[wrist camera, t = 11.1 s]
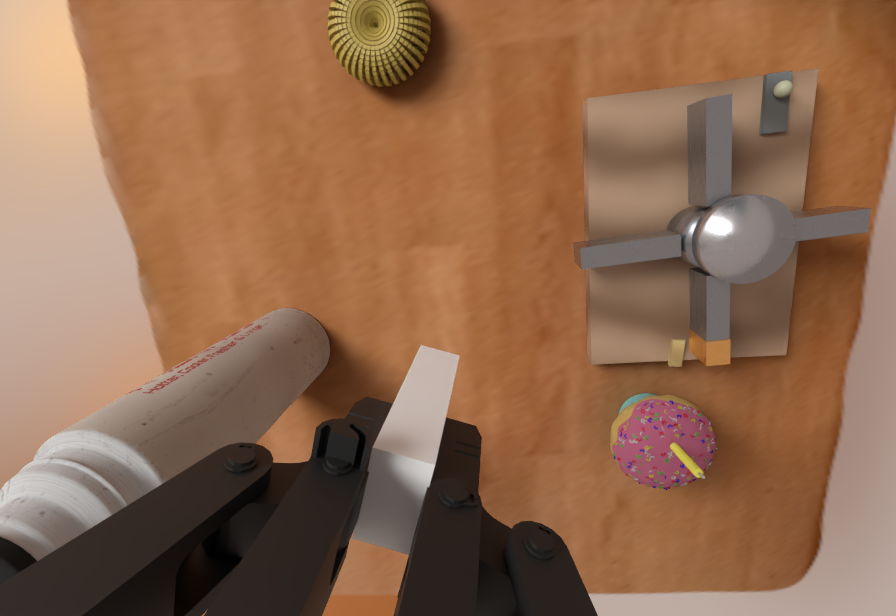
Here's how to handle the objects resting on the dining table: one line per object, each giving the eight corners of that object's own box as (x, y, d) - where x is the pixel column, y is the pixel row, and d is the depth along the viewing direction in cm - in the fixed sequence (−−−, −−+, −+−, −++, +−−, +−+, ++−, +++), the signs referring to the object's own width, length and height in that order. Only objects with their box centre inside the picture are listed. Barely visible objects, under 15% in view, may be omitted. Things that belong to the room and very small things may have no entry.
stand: (582, 102, 35) (591, 94, 32) (799, 75, 33) (835, 62, 29) (587, 360, 41) (595, 376, 38) (771, 351, 39) (798, 367, 35)
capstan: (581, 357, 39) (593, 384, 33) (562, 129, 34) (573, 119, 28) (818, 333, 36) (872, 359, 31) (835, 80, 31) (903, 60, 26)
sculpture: (312, 68, 33) (326, -57, 31) (332, 80, 37) (345, -30, 34) (414, 91, 33) (436, -33, 30) (423, 100, 36) (443, -9, 34)
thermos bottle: (242, 319, 44) (-156, 533, 17) (313, 298, 42) (-4, 497, 16) (273, 389, 46) (-43, 680, 19) (342, 371, 44) (104, 660, 18)
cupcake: (601, 374, 41) (641, 448, 30) (696, 374, 40) (775, 451, 29) (598, 453, 44) (633, 549, 32) (687, 455, 43) (757, 555, 31)
